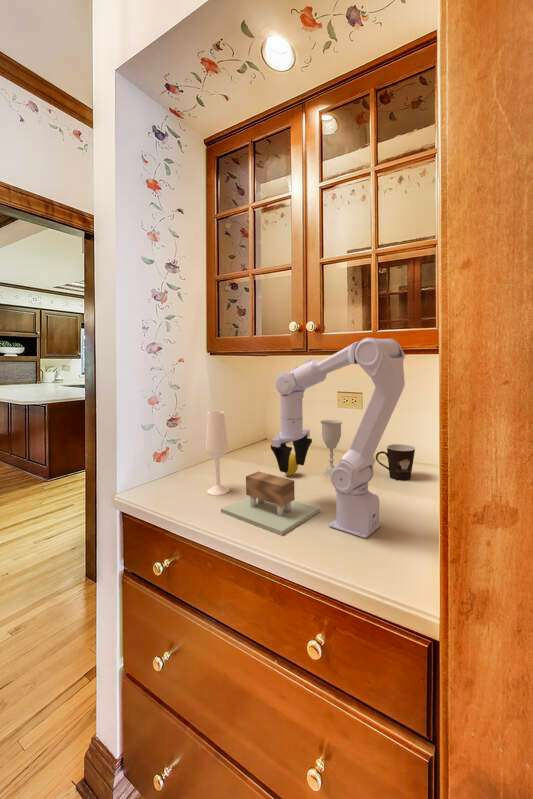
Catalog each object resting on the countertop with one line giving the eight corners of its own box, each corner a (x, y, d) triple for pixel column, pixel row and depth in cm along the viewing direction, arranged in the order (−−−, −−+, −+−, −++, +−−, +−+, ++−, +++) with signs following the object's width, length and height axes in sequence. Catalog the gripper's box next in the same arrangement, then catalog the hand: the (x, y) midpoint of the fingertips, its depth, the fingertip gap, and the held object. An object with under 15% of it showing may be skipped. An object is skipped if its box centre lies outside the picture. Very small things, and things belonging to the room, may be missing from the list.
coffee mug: (415, 475, 122) (415, 445, 121) (413, 483, 114) (414, 452, 113) (378, 470, 127) (379, 442, 125) (374, 478, 119) (375, 448, 118)
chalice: (341, 470, 127) (341, 419, 125) (343, 477, 121) (343, 423, 118) (319, 470, 128) (319, 419, 126) (320, 477, 121) (320, 423, 119)
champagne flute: (220, 496, 106) (217, 414, 103) (202, 492, 110) (199, 413, 107) (234, 489, 112) (231, 411, 109) (216, 485, 115) (213, 409, 113)
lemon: (288, 472, 127) (287, 449, 126) (301, 475, 124) (301, 452, 123) (278, 476, 123) (278, 453, 122) (291, 479, 119) (291, 455, 118)
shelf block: (294, 499, 93) (294, 480, 92) (282, 506, 89) (282, 486, 88) (258, 489, 101) (258, 471, 100) (246, 494, 97) (245, 476, 96)
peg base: (319, 511, 95) (319, 496, 94) (281, 535, 83) (281, 518, 82) (261, 493, 108) (261, 480, 107) (221, 512, 96) (220, 497, 95)
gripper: (294, 412, 104) (295, 459, 106) (262, 420, 93) (263, 472, 95) (316, 414, 100) (316, 463, 102) (284, 423, 89) (285, 477, 90)
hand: (292, 468), depth 98 cm, fingers open, 7 cm apart
